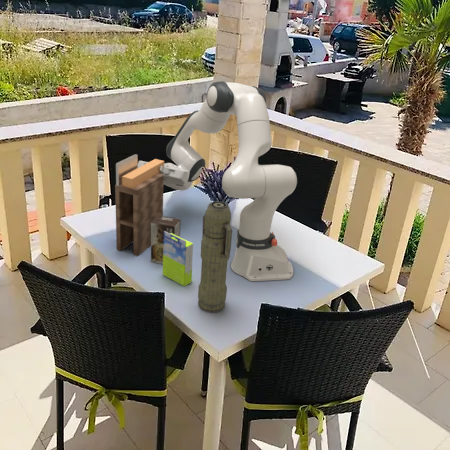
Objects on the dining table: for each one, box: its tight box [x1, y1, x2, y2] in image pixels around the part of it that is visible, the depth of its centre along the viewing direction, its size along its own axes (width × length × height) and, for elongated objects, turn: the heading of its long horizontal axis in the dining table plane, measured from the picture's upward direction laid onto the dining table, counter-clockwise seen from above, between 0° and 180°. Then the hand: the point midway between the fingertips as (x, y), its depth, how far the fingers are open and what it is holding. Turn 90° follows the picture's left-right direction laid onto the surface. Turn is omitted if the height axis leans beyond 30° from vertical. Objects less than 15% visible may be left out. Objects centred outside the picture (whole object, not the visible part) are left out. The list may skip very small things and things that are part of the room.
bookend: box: [115, 153, 139, 186], centre depth 184 cm, size 12×1×8 cm, turn 156°
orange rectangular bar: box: [122, 158, 165, 188], centre depth 188 cm, size 22×4×4 cm, turn 156°
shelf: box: [114, 174, 164, 257], centre depth 192 cm, size 18×9×26 cm, turn 156°
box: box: [162, 231, 194, 287], centre depth 174 cm, size 10×4×17 cm, turn 51°
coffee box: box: [150, 215, 181, 265], centre depth 185 cm, size 9×6×16 cm
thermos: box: [197, 200, 233, 313], centre depth 158 cm, size 9×12×35 cm
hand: (153, 166), depth 193 cm, fingers closed on orange rectangular bar, 4 cm apart
